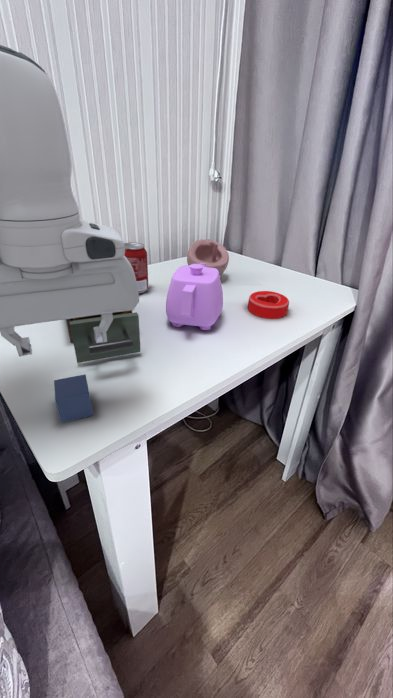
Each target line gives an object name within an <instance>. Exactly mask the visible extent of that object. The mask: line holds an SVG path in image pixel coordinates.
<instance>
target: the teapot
mask: <svg viewBox="0 0 393 698" xmlns="http://www.w3.org/2000/svg"><path fill="white" fill-rule="evenodd" d="M223 308H224V293H223V286H222V281H221V275H220V276H219V272H218V270H217V269H216V268H210V267H206V263H200V264H191V265H188V264H185V265H180V266H179V267H178V268H176V270H175V271H174V273H173V274H172V277H171V280H170V283H169V286H168V289H167V293H166V299H165V314H166V316H167V319H168V320H169V322H171V324H172V326H173V327H176V328H180V327H183V326H184V325H185V326H194V327H199V329H200V330H202V331H210V330H212V326H214V324H215V323H216V321H217V320H218V319H219V317H220V315H221V314H222V311H223Z"/></svg>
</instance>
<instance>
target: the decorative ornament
mask: <svg viewBox="0 0 393 698" xmlns="http://www.w3.org/2000/svg"><path fill="white" fill-rule="evenodd" d="M247 302H248V303H247V310H248V312H249V313H250V314H252V315H253V316H256V317H258V318H262V319H267V320H268V319H269V320H277V319H281V318H285V317H286V316H287V314H288V311H289V307H290V306H289V305H290V300H289V298H288V297H287V296H285V295H284V294H281V293H279V292H277V291H270V290H258V291H254V292H251V294H250V295H249V297H248V301H247Z"/></svg>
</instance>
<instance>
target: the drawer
mask: <svg viewBox="0 0 393 698" xmlns="http://www.w3.org/2000/svg"><path fill="white" fill-rule="evenodd" d="M112 314H113V321H112V323H111V324H110V326H109V328H108V330H107V331H106V335H107V342H102V343H96V340H95V336H94V329H93V327H97V326H99V325H100V323H101V321H102V318H101V315H93V316H86V317H78V318H73V321H70V327H71V333H72V338H73V343H72V344H73V347H74V348H73V349H74V353H75V359H76V364H81V363H85V362H91V361H99V360H103V359H108V358H114V357H121V356H125V355H132V354H138V353H141V352H142V351H141V350H142V349H141V334H140V321H139V320H140V317H139V314H138V312H137V311H136V312H135V311H134V312H133V310H132V311H131V310H128V311H121V312H114V313H112Z"/></svg>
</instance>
